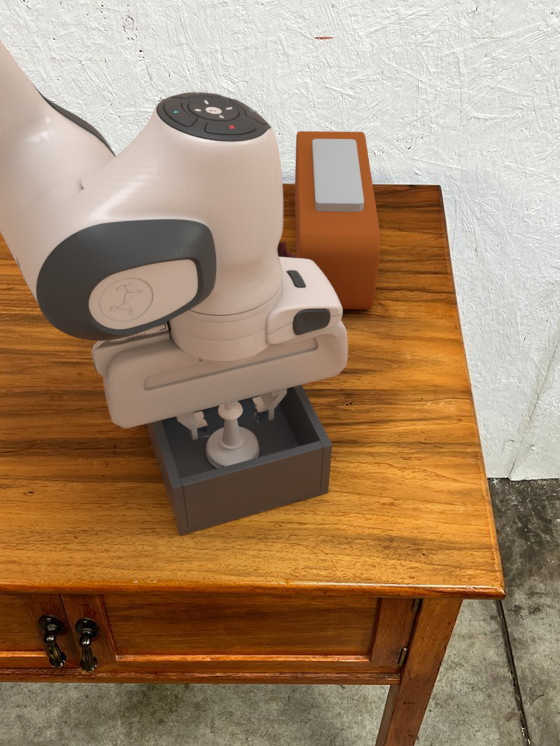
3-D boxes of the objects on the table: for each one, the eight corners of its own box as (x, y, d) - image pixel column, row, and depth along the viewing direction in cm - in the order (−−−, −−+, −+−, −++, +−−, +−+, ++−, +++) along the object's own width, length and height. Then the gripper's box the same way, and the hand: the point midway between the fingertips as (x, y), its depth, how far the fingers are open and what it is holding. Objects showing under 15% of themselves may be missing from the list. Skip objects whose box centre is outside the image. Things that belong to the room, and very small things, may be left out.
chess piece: (259, 429, 73) (257, 353, 66) (259, 471, 70) (258, 396, 63) (206, 430, 73) (199, 354, 66) (204, 472, 70) (197, 397, 62)
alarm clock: (372, 317, 86) (383, 232, 78) (297, 316, 86) (299, 231, 78) (357, 196, 103) (365, 116, 94) (294, 196, 102) (296, 115, 94)
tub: (179, 536, 66) (172, 488, 61) (145, 421, 75) (136, 372, 70) (328, 493, 69) (332, 444, 64) (278, 388, 78) (278, 338, 73)
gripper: (94, 365, 54) (121, 483, 64) (362, 304, 59) (349, 422, 69) (80, 309, 59) (107, 428, 68) (331, 256, 63) (323, 374, 73)
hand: (231, 424), depth 69 cm, fingers open, 5 cm apart
